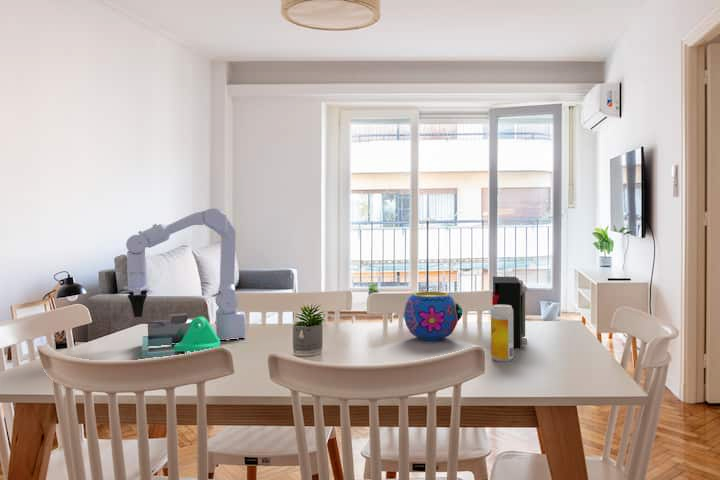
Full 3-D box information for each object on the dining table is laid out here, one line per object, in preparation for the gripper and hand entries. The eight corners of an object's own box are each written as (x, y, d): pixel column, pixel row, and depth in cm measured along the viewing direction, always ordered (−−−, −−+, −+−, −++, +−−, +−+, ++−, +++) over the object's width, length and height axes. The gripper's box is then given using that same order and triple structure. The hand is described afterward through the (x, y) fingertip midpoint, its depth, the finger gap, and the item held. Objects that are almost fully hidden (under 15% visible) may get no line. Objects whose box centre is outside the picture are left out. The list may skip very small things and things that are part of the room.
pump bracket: (171, 346, 180) (171, 333, 179) (174, 361, 160) (173, 347, 160) (143, 348, 177) (142, 336, 176) (142, 364, 157) (141, 350, 157)
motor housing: (199, 339, 189) (198, 311, 189) (201, 344, 182) (200, 315, 181) (148, 343, 184) (147, 314, 183) (148, 348, 176) (147, 318, 176)
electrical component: (527, 349, 168) (527, 283, 168) (492, 348, 171) (492, 282, 170) (522, 337, 186) (522, 276, 185) (491, 336, 188) (490, 276, 187)
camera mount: (173, 354, 169) (172, 320, 169) (183, 348, 177) (182, 316, 176) (211, 355, 168) (210, 320, 167) (220, 349, 175) (219, 316, 175)
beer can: (497, 355, 162) (496, 303, 161) (517, 358, 158) (516, 305, 157) (487, 359, 157) (487, 306, 156) (507, 363, 153) (507, 308, 152)
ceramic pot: (468, 342, 179) (468, 295, 178) (417, 347, 173) (416, 298, 173) (444, 332, 195) (443, 289, 195) (396, 336, 190) (395, 291, 189)
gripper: (124, 271, 185) (125, 312, 185) (122, 275, 171) (123, 319, 172) (147, 270, 187) (148, 310, 188) (147, 274, 174) (148, 317, 174)
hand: (138, 314), depth 180 cm, fingers open, 7 cm apart
